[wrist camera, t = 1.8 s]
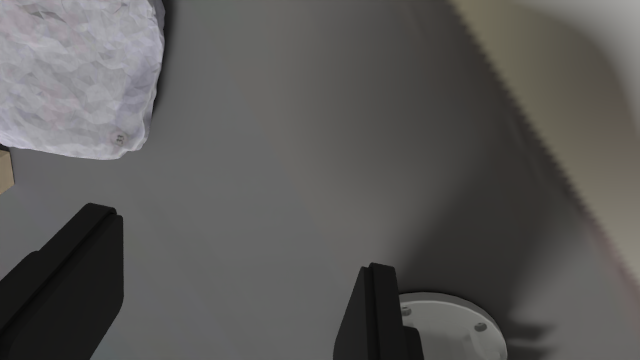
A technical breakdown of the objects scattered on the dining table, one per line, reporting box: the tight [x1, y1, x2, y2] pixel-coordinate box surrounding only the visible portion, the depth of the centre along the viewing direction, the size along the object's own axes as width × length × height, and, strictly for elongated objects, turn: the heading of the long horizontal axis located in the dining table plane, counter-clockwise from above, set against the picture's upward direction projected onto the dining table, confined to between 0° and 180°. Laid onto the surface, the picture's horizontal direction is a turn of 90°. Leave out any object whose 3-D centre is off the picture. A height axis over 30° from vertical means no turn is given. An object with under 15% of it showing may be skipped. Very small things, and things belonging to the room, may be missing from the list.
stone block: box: [0, 0, 165, 160], centre depth 22 cm, size 12×5×10 cm
